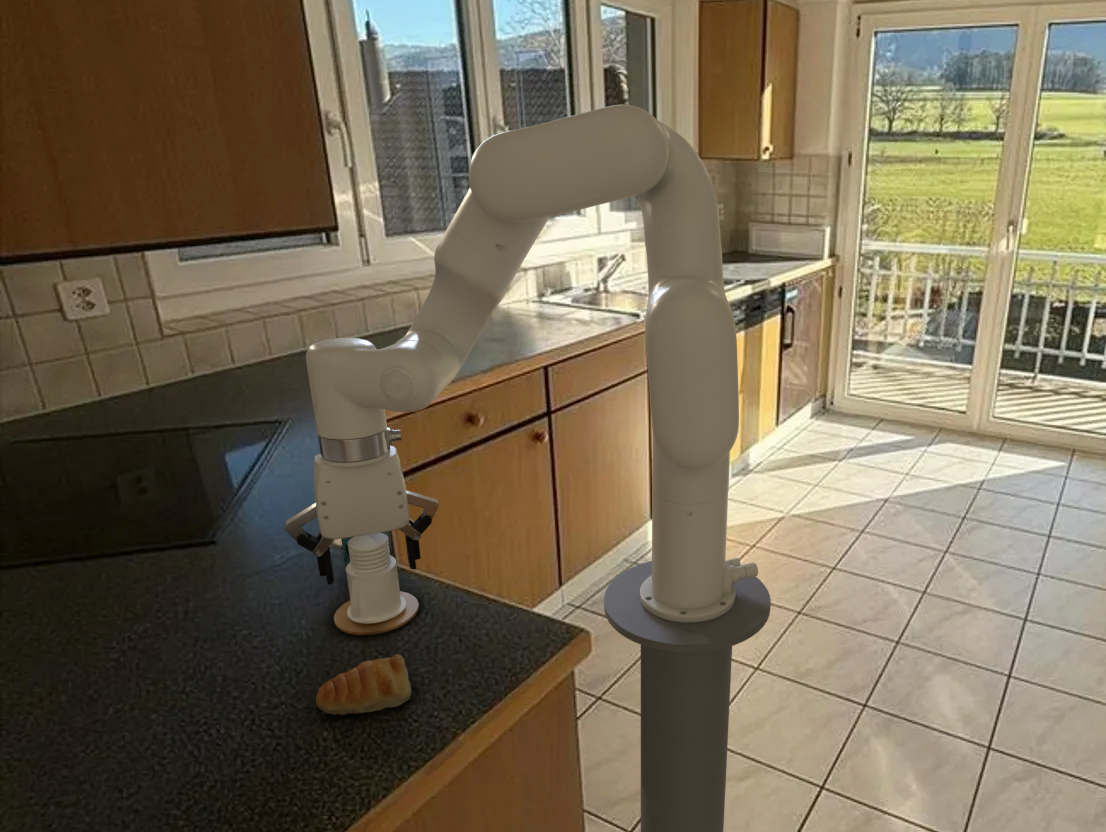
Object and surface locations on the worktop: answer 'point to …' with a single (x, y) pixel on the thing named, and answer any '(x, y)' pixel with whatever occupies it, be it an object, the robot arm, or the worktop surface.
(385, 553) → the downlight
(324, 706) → the pastry
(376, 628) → the cork coaster
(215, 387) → the worktop surface
